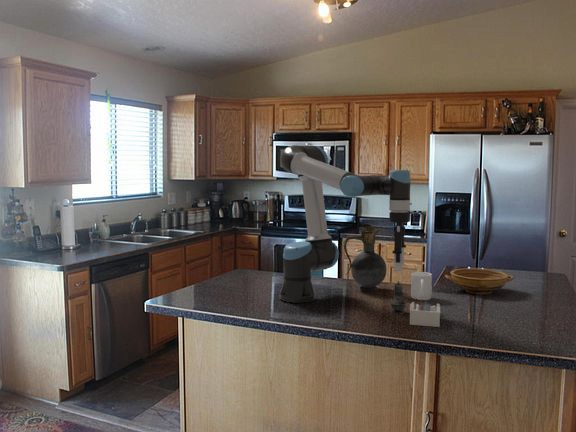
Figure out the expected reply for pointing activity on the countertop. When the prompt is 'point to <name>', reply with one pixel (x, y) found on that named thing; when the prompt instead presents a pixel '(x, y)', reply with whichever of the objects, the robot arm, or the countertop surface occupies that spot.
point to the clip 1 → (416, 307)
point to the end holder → (424, 317)
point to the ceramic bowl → (479, 279)
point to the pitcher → (367, 261)
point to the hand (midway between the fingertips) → (399, 267)
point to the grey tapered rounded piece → (398, 300)
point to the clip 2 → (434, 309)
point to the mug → (421, 285)
